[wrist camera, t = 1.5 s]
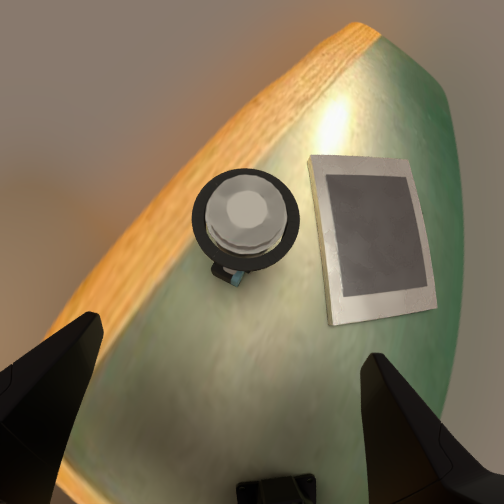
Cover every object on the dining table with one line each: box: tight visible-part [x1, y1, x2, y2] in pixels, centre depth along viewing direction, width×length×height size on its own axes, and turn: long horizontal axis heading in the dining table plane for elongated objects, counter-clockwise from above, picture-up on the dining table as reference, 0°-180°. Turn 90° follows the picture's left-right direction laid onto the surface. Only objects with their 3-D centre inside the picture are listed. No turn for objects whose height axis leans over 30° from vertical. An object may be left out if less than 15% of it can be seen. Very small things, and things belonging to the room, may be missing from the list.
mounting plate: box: [307, 155, 437, 325], centre depth 24 cm, size 14×10×1 cm
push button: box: [192, 168, 300, 287], centre depth 19 cm, size 7×5×10 cm
